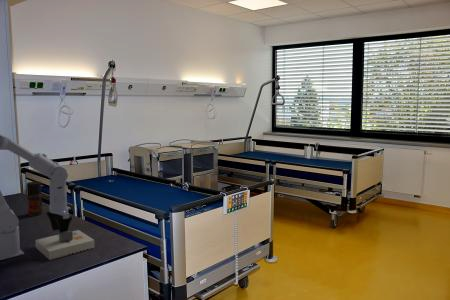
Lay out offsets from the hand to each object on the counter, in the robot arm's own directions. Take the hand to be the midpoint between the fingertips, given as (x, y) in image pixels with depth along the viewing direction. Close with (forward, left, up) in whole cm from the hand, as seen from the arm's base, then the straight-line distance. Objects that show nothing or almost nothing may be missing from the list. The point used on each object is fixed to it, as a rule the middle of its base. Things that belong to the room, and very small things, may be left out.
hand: (59, 232), depth 141 cm
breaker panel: (0, -5, -4) cm, 7 cm away
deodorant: (+5, +44, -5) cm, 45 cm away
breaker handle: (0, -6, -1) cm, 6 cm away
